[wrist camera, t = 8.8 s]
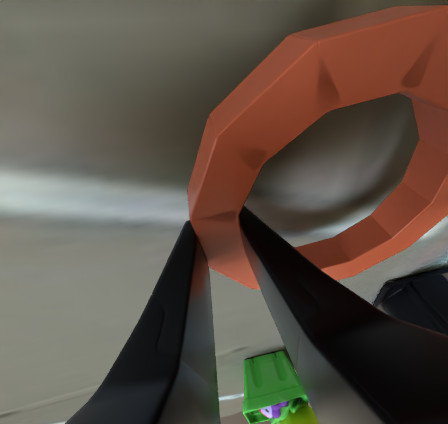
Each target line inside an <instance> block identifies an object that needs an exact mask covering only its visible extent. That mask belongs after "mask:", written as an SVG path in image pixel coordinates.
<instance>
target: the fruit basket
mask: <svg viewBox="0 0 448 424" xmlns="http://www.w3.org/2000/svg"><path fill="white" fill-rule="evenodd" d="M308 402H309V400H308V398H307V395H306V393H305V391H304V389H303V386H302V384H301V382H300V379H299V377H298V375H297V374H296V372H295V370H294V369H293V367H292V365H291V363H290V362H289V360H288V358H287V357H286V355H285V353H284V352H283V351H278V352H276V353H270V354H266V355H262V356H258V357H255V358H253V359H246V360H244V402H243V414H244V416H245V417H246V419H247V421H248V422H249V424H254V423H259V422H263V421H267V420H270V421H271V424H275V423H277V424H319V423H318V421H317V419H316V416H315V414H314V412H313V409H312V408H311V407H309V406H308Z"/></svg>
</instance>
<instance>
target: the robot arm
mask: <svg viewBox="0 0 448 424" xmlns="http://www.w3.org/2000/svg"><path fill="white" fill-rule="evenodd" d="M239 220H240V229H241V233H242V238H243V243H244V248H245V252H246V255H247V258H248V261H249V264H250V266H251V268H252V271H253V273H254V275H255V278H256V280H257V282H258V285H259V287H260V289H261V291H262V294H263V296H264V298H265V301H266V303H267V305H268V308H269V310H270V312H271V315H272V317H273V319H274V321H275V324H276V326H277V328H278V331H279V333H280V335H281V338H282V340H283V342H284V345H285V347H286V349H287V351H288V354H289V356H290V358H291V361H292V363H293V365H294V368H295V370H296V372H297V375H298V377H299V379H300V382H301V384H302V386H303V389H304V391H305V393H306V395H307V398H308V400H309V402H310V405H311V407H312V409H313V412H314V414H315V416H316V419H317V421H318V423H319V424H448V267H447V268H444V269H440V270H436V271H432V272H428V273H425V274H421V275H417V276H413V277H409V278H406V279H402V280H398V281H394V282H391V283H388V284H386V285H385V286H384V287H383V289H382V291H381V292H380V294H379V296H378V298H377V299H376V301H375V303H374V305H372V304H370V303H369V302H367V301H366V300H364V299H363V298H361V297H360V296H358V295H357V294H355V293H354V292H352V291H351V290H349V289H348V288H346V287H345V286H343V285H342V284H340V283H339V282H337V281H336V280H334V279H333V278H332V277H330V276H329V275H327V274H326V273H325V272H323V271H322V270H321V269H319V268H318V267H317V266H316V265H314V264H313V263H312V262H311V261H309V260H308V259H307V258H306V257H305V256H303V255H302V254H301V253H300V252H299V251H297V250H296V249H295V248H294V247H293V246H291V245H290V244H289V243H288V242H287V241H285V240H284V239H283V238H282V237H281V236H279V235H278V234H277V233H276V232H275V231H274V230H272V229H271V228H270V227H269V226H268V225H266V224H265V223H264V222H263V221H262V220H260V219H259V218H258V217H257V216H256V215H254V214H253V213H252V212H251V211H250V210H249V209H247V208H246V207H245V206H243V207H242V209H241V211H240V213H239ZM152 294H153V295H151V297H150V299H149V301H148V303H147V305H146V307H145V309H144V311H143V313H142V315H141V317H140V319H139V321H138V323H137V325H136V327H135V328H134V330H133V332H132V334H131V335H130V337H129V339H128V341H127V342H126V344H125V346H124V347H123V349H122V351H121V352H120V354H119V356H118V358H117V359H116V361H115V363H114V364H113V366H112V368H111V369H110V371H109V373H108V375H107V376H106V378H105V379H104V381H103V383H102V384H101V385H100V387H99V388H98V390H97V391H96V392H95V393H94V395H93V396H92V397H91V398H90V399H89V401H88V402H87V403H86V404H85V405H84V406H83V407H82V408H81V409H80V410H79V411H78V412H77V413H76V414H74V415H73V416H72V417H71V418H70V419H69V420H68V421H67V422H66V423H65V424H220V413H219V399H218V392H217V391H218V385H217V371H216V357H215V343H214V329H213V315H212V301H211V287H210V274H209V266H208V261H207V258H206V256H205V254H204V251H203V249H202V246H201V244H200V241H199V239H198V237H197V235H196V233H195V231H194V229H193V226H192V224H191V221H190V220H188V221H186V222H185V224H184V226H183V228H182V231H181V233H180V235H179V237H178V239H177V241H176V243H175V246H174V248H173V250H172V252H171V254H170V256H169V258H168V261H167V263H166V265H165V267H164V269H163V271H162V273H161V276H160V278H159V280H158V282H157V284H156V286H155V288H154V291H153V293H152Z"/></svg>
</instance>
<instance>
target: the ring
mask: <svg viewBox="0 0 448 424" xmlns="http://www.w3.org/2000/svg"><path fill="white" fill-rule="evenodd" d="M395 93H400V94H402V95H404V96H407V97H409V98H411V100H412V104H413V109H414V113H415V118H416V123H417V127H418V132H419V136H420V139H419V142H418V144H417V146H416V149H415V151H414V154H413V156H412V159H411V161H410V163H409V166H408V168H407V171H406V173H405V175H404V178H403V180H402V182H401V183H400V184H399V185H398V186H397V187H396V188H395V189H394V191H393V192H392V193H391V194H390V195H389V196H388V197H387V198H386V199H385V200H384V201H383V202H382V203H381V204H380V205H379V207H378V208H377V209H376V210H375V211H374V212H373V213H372V214H371V215H370V216H368V217H366V218H365V219H363V220H361V221H360V222H358V223H356V224H355V225H353V226H351V227H350V228H348V229H346V230H345V231H343V232H341V233H340V234H338V235H336V236H335V237H333V238H329V239H325V240H321V241H318V242H314V243H310V244H306V245H303V246H299V247H294V248H295V249H296V250H297V251H299V252H300V253H301V254H302V255H303V256H305V257H306V258H307V259H308V260H309V261H311V262H312V263H313V264H314V265H316V266H317V267H318V268H319V269H321V270H322V271H323V272H325V273H326V274H327V275H329V276H330V277H332V278H333V279H334V280H336V281H337V280H340V279H344V278H348V277H352V276H354V275H356V274H358V273H360V272H362V271H364V270H366V269H368V268H370V267H371V266H373V265H375V264H377V263H379V262H381V261H383V260H385V259H387V258H389V257H391V256H393V255H395V254H396V253H398V252H400V251H402V250H404V249H406V248H408V247H409V246H411V245H412V244H413V243H414V242H415V241H417V240H418V239H419V238H420V237H421V236H423V235H424V234H425V233H426V232H427V231H429V230H430V229H431V228H432V227H433V226H435V225H436V224H437V223H438V222H439V221H441V220H442V219H443V218H444V217H445V216H447V215H448V6H447V5H433V6H394V7H391V8H387V9H383V10H379V11H375V12H372V13H368V14H364V15H360V16H357V17H353V18H349V19H345V20H341V21H338V22H334V23H330V24H326V25H322V26H319V27H315V28H311V29H307V30H304V31H300V32H296V33H292V34H291V35H289V36H287V37H286V38H285V39H284V40H283V41H282V42H281V43H280V44H279V45H278V46H277V47H276V48H275V49H274V50H273V51H272V52H271V53H270V54H269V55H268V56H267V57H266V58H265V59H264V60H263V61H262V62H261V63H260V64H259V65H258V66H257V67H256V68H255V69H254V70H253V71H252V72H251V73H250V74H249V75H248V76H247V77H246V78H245V79H244V80H243V81H242V82H241V83H240V84H239V85H238V86H237V87H236V88H235V89H234V90H233V91H232V92H231V93H230V94H229V95H228V96H227V97H226V98H225V99H224V100H223V101H222V102H221V103H220V104H219V105H218V106H217V107H216V108H215V109H214V110H213V111H212V112H211V113H210V115H209V117H208V119H207V123H206V126H205V130H204V134H203V137H202V141H201V144H200V148H199V151H198V155H197V158H196V162H195V165H194V169H193V172H192V176H191V179H190V183H189V187H188V190H187V195H188V205H189V216H190V221H191V224H192V226H193V229H194V231H195V233H196V235H197V237H198V239H199V241H200V244H201V246H202V249H203V251H204V254H205V256H206V258H207V261H208V265H209V267H210V268H212V269H213V270H215V271H217V272H219V273H221V274H223V275H225V276H227V277H229V278H231V279H233V280H235V281H237V282H239V283H241V284H243V285H245V286H247V287H249V288H251V289H260V287H259V285H258V282H257V280H256V278H255V275H254V273H253V271H252V268H251V266H250V264H249V261H248V258H247V255H246V252H245V248H244V243H243V238H242V233H241V229H240V220H239V213H240V211H241V209H242V207H243V205H244V203H245V201H246V199H247V197H248V195H249V193H250V191H251V189H252V186H253V184H254V182H255V180H256V178H257V176H258V174H259V172H260V170H261V168H262V166H263V164H264V163H265V162H266V161H268V160H269V159H270V158H271V157H272V156H274V155H275V154H276V153H277V152H279V151H280V150H281V149H282V148H284V147H285V146H286V145H287V144H289V143H290V142H291V141H292V140H293V139H295V138H296V137H297V136H298V135H300V134H301V133H302V132H303V131H305V130H306V129H307V128H308V127H309V126H311V125H312V124H313V123H314V122H316V121H317V120H318V119H319V118H321V117H322V116H323V115H324V114H326V113H327V112H328V111H331V110H335V109H339V108H342V107H346V106H350V105H354V104H357V103H361V102H365V101H369V100H373V99H376V98H380V97H384V96H388V95H391V94H395Z"/></svg>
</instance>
